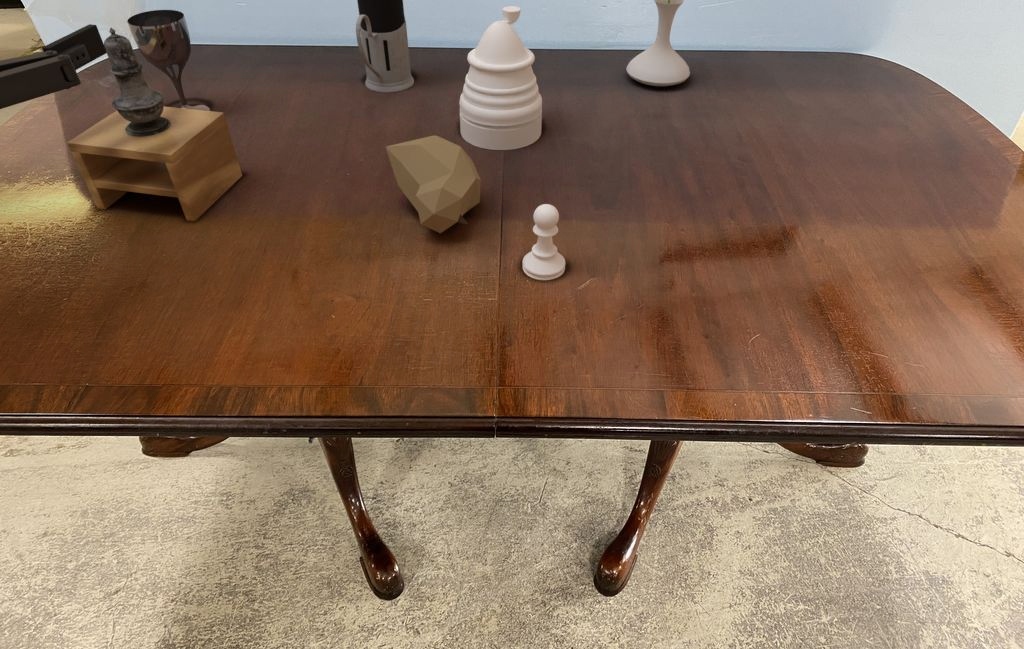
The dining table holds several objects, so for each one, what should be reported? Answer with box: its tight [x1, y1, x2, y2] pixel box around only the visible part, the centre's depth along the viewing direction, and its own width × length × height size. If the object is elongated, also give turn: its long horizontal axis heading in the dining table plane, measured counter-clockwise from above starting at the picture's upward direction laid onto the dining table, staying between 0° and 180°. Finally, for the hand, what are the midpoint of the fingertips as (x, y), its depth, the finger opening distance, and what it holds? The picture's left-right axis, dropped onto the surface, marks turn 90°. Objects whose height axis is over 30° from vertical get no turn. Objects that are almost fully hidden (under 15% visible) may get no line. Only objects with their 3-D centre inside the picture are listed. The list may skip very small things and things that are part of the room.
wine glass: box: [126, 9, 211, 111], centre depth 105 cm, size 8×8×15 cm
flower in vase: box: [625, 0, 691, 87], centre depth 113 cm, size 13×11×25 cm
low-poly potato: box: [385, 134, 482, 234], centre depth 84 cm, size 15×11×12 cm
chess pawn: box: [521, 203, 567, 281], centre depth 75 cm, size 5×5×9 cm
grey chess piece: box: [103, 27, 171, 136], centre depth 80 cm, size 6×6×12 cm
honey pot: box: [458, 5, 543, 151], centre depth 100 cm, size 13×13×18 cm
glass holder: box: [355, 0, 415, 93], centre depth 113 cm, size 9×14×15 cm, turn 166°
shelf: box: [66, 105, 243, 222], centre depth 87 cm, size 14×12×10 cm
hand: (38, 32), depth 67 cm, fingers open, 13 cm apart
